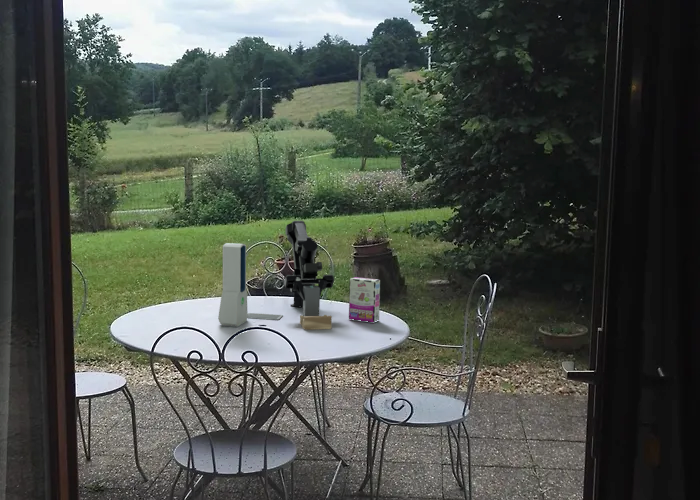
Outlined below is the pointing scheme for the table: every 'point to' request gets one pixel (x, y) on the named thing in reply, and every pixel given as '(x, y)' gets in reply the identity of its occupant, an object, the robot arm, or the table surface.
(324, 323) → the tan wooden block
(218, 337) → the table surface
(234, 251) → the electronic device
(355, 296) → the candy bar box
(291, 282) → the robot arm
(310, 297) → the block
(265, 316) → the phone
